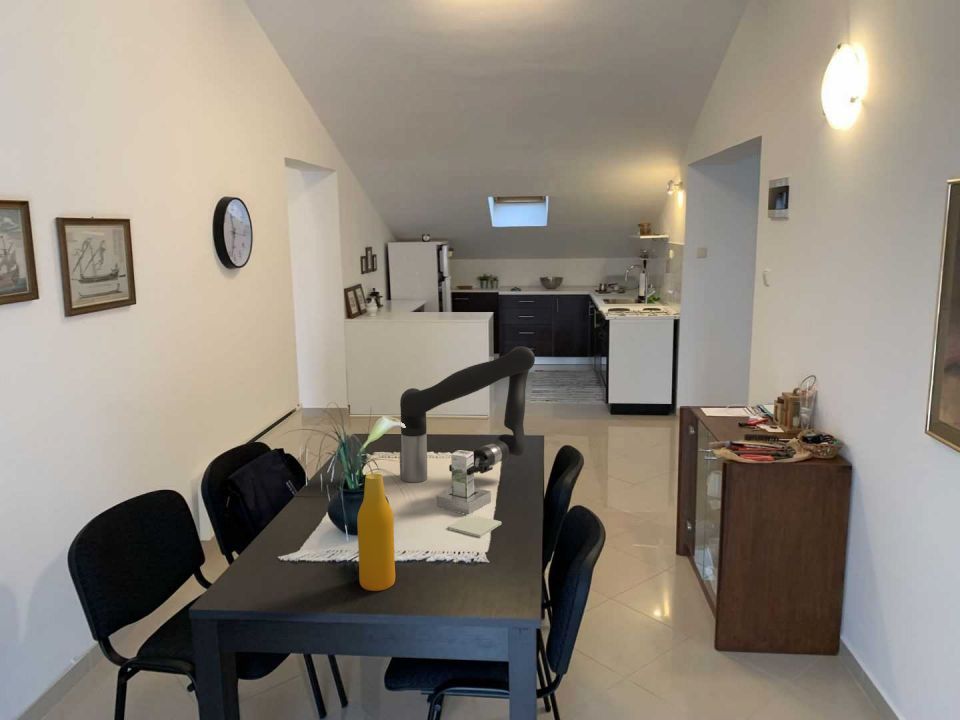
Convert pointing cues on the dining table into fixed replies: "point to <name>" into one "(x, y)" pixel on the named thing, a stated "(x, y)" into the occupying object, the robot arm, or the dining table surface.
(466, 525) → the pad
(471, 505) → the housing
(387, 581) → the beer bottle
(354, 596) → the dining table surface
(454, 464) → the syrup box
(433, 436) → the dining table surface
